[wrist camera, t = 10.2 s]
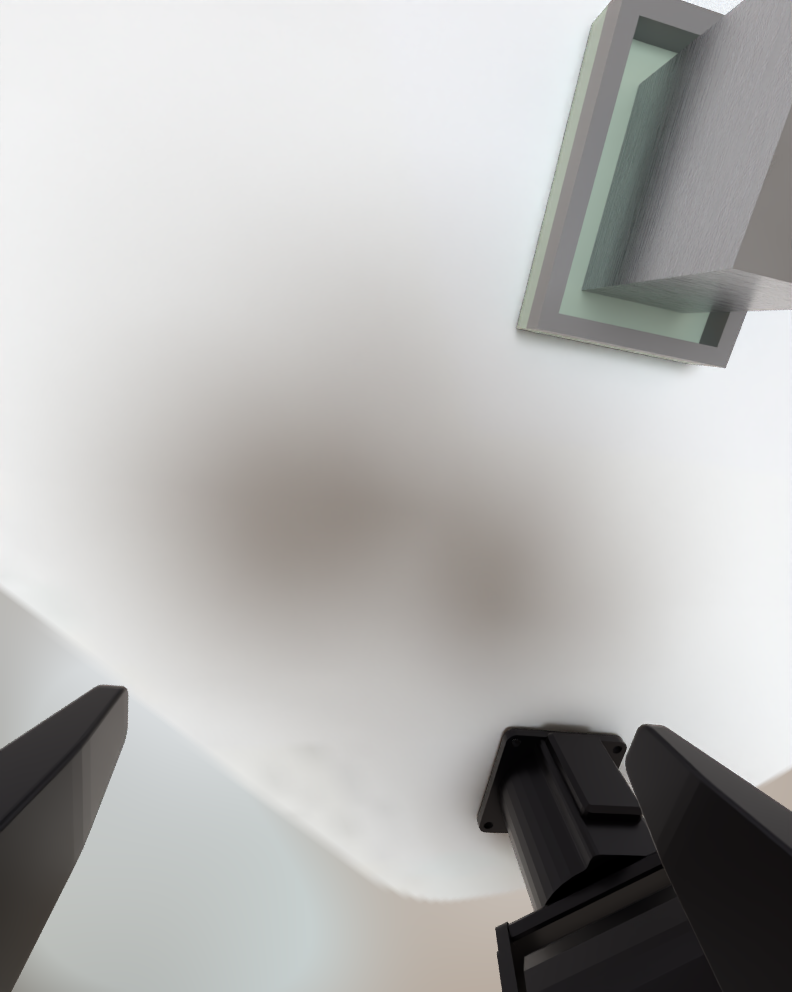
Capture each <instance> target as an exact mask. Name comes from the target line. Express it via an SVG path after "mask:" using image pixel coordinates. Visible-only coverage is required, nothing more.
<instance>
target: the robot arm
mask: <svg viewBox="0 0 792 992" xmlns="http://www.w3.org/2000/svg"><path fill="white" fill-rule="evenodd" d="M127 728H128V691H127V689H126V688H125V687H124V686H114V685H99V686H96V687H94V688H93V689H91V690H90V691H88V692H87V693H85V694H84V695H82V696H81V697H79V698H78V699H76V700H75V701H73V702H71V703H70V704H68V705H67V706H65V707H64V708H62V709H61V710H59V711H58V712H56V713H55V714H53V715H52V716H50V717H49V718H47V719H46V720H44V721H43V722H41V723H40V724H38V725H36V726H35V727H34V728H32V729H30V730H29V731H27V732H26V733H24V734H23V735H21V736H20V737H18V738H17V739H15V740H14V741H12V742H11V743H9V744H8V745H6V746H5V747H3V748H2V749H0V992H11V991H12V989H13V987H14V985H15V983H16V981H17V979H18V977H19V975H20V974H21V972H22V970H23V968H24V966H25V964H26V962H27V960H28V958H29V956H30V953H31V952H32V950H33V948H34V946H35V944H36V942H37V940H38V938H39V936H40V934H41V932H42V930H43V928H44V926H45V924H46V922H47V920H48V918H49V916H50V914H51V912H52V910H53V908H54V906H55V904H56V902H57V900H58V898H59V896H60V894H61V892H62V890H63V888H64V886H65V884H66V882H67V880H68V878H69V876H70V874H71V872H72V870H73V868H74V866H75V864H76V862H77V860H78V858H79V856H80V854H81V852H82V849H83V847H84V845H85V842H86V840H87V837H88V835H89V833H90V830H91V828H92V825H93V822H94V820H95V817H96V815H97V812H98V810H99V807H100V804H101V802H102V799H103V797H104V794H105V791H106V789H107V786H108V784H109V781H110V778H111V776H112V773H113V771H114V768H115V766H116V763H117V760H118V758H119V755H120V752H121V750H122V748H123V745H124V742H125V739H126V734H127ZM514 739H516V740H514ZM512 740H514V741H512ZM626 748H627V747H626V744H625V743H624V741H623V740H622V738H620V737H619V736H613V735H598V734H584V733H569V732H555V731H540V730H525V729H511V730H508V731H507V732H506V733H505V734H504V736H503V739H502V742H501V745H500V748H499V751H498V754H497V758H496V761H495V764H494V767H493V770H492V773H491V777H490V780H489V783H488V786H487V789H486V792H485V795H484V799H483V802H482V805H481V808H480V811H479V814H478V818H477V822H478V825H479V828H480V830H481V831H483V832H490V833H508V834H509V837H510V840H511V843H512V846H513V849H514V852H515V855H516V858H517V861H518V864H519V867H520V870H521V873H522V876H523V879H524V882H525V885H526V888H527V891H528V894H529V897H530V900H531V903H532V906H533V909H534V912H532V913H530V914H528V915H526V916H524V917H522V918H520V919H518V920H516V921H514V922H512V923H510V924H509V923H508V922H506V923H504V924H502V925H500V926H498V927H496V928H495V930H496V937H497V944H498V952H497V958H498V964H499V972H500V979H501V986H502V992H792V811H790V810H788V809H787V808H785V807H784V806H783V805H781V804H780V803H778V802H777V801H775V800H774V799H772V798H771V797H769V796H768V795H766V794H765V793H763V792H762V791H760V790H759V789H757V788H756V787H754V786H753V785H752V784H750V783H749V782H747V781H746V780H744V779H743V778H741V777H740V776H738V775H737V774H735V773H734V772H732V771H731V770H729V769H728V768H726V767H725V766H723V765H722V764H720V763H719V762H717V761H716V760H714V759H713V758H711V757H710V756H708V755H707V754H705V753H704V752H702V751H701V750H699V749H698V748H697V747H695V746H694V745H692V744H691V743H689V742H688V741H686V740H685V739H683V738H682V737H680V736H679V735H677V734H676V733H674V732H673V731H671V730H670V729H668V728H667V727H665V726H662V725H652V724H643V725H641V726H640V727H639V728H638V729H637V732H636V734H635V736H634V739H633V741H632V743H631V746H630V748H629V751H628V753H627V755H626V760H625V766H626V771H627V774H628V777H629V779H630V782H631V785H632V787H633V790H634V793H635V795H636V796H635V795H634V793H633V792H632V790H631V788H630V787H629V785H628V784H627V782H626V780H625V779H624V777H623V776H622V774H621V773H620V771H619V766H620V764H621V761H622V759H623V757H624V754H625V752H626ZM643 816H644V817H643Z"/></svg>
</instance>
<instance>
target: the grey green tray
mask: <svg viewBox="0 0 792 992" xmlns="http://www.w3.org/2000/svg"><path fill="white" fill-rule="evenodd" d="M724 16H725V15H723V14H720V13H717V12H714V11H711V10H708V9H705V8H702V7H699V6H696V5H693V4H691V3H688V2H685V1H682V0H612V1H611V2H610V3H609V4H608V5H607V7H606V8H605V9H604V10H603V11H602V13H601V14H600V15H599V16H598V17H597V18H596V20H595V21H594V22H593V23H592V26H591V30H590V34H589V38H588V42H587V46H586V51H585V55H584V59H583V63H582V67H581V71H580V75H579V79H578V83H577V87H576V91H575V95H574V99H573V103H572V107H571V111H570V115H569V119H568V123H567V127H566V131H565V135H564V139H563V143H562V147H561V151H560V155H559V159H558V163H557V167H556V171H555V175H554V179H553V183H552V188H551V192H550V196H549V200H548V204H547V208H546V212H545V216H544V220H543V224H542V228H541V232H540V236H539V240H538V244H537V248H536V252H535V256H534V260H533V264H532V268H531V272H530V276H529V280H528V284H527V288H526V292H525V296H524V300H523V304H522V308H521V312H520V316H519V321H518V325H517V328H518V329H523V330H527V331H532V332H537V333H542V334H547V335H552V336H556V337H561V338H566V339H571V340H576V341H581V342H585V343H590V344H595V345H600V346H605V347H610V348H614V349H619V350H624V351H629V352H634V353H639V354H643V355H648V356H653V357H658V358H663V359H668V360H672V361H677V362H682V363H687V364H695V365H704V366H713V367H722V368H726V365H727V363H728V360H729V358H730V355H731V352H732V350H733V347H734V344H735V342H736V339H737V337H738V334H739V331H740V329H741V326H742V323H743V321H744V318H745V316H746V313H747V311H735V312H706V313H680V312H675V311H671V310H667V309H662V308H658V307H653V306H649V305H644V304H640V303H636V302H631V301H627V300H622V299H618V298H613V297H609V296H605V295H600V294H596V293H591V292H587V291H582V290H581V289H582V286H583V282H584V279H585V275H586V272H587V268H588V264H589V261H590V257H591V254H592V250H593V247H594V243H595V239H596V236H597V232H598V229H599V225H600V222H601V218H602V215H603V211H604V207H605V204H606V200H607V197H608V193H609V190H610V186H611V182H612V179H613V175H614V172H615V168H616V165H617V161H618V158H619V154H620V150H621V147H622V143H623V140H624V136H625V133H626V129H627V125H628V122H629V118H630V115H631V111H632V108H633V104H634V101H635V97H636V93H637V90H638V86H639V84H640V83H642V82H643V81H644V80H645V79H647V78H648V77H649V76H650V75H652V74H653V73H654V72H655V71H657V70H658V69H659V68H660V67H661V66H663V65H664V64H665V63H666V62H668V61H669V60H670V59H671V58H673V57H674V56H675V55H676V54H678V53H679V52H680V51H681V50H683V49H684V48H685V47H686V46H688V45H689V44H690V43H691V42H693V41H694V40H695V39H696V38H698V37H699V36H700V35H701V34H703V33H704V32H705V31H706V30H707V29H709V28H710V27H711V26H712V25H714V24H715V23H716V22H717V21H719V20H720V19H721V18H722V17H724Z"/></svg>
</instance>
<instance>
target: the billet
mask: <svg viewBox="0 0 792 992" xmlns="http://www.w3.org/2000/svg"><path fill="white" fill-rule="evenodd" d="M581 290H582V291H587V292H591V293H596V294H600V295H605V296H609V297H613V298H618V299H622V300H627V301H631V302H636V303H640V304H644V305H649V306H653V307H658V308H662V309H667V310H671V311H675V312H680V313H706V312H735V311H764V310H792V0H744V1H742V2H741V3H740V4H739V5H737V6H736V7H735V8H734V9H732V10H731V11H730V12H729V13H727V14H726V15H725V16H724V17H722V18H721V19H720V20H719V21H717V22H716V23H715V24H714V25H712V26H711V27H710V28H709V29H707V30H706V31H705V32H704V33H703V34H701V35H700V36H699V37H698V38H696V39H695V40H694V41H693V42H691V43H690V44H689V45H688V46H686V47H685V48H684V49H683V50H681V51H680V52H679V53H678V54H676V55H675V56H674V57H673V58H671V59H670V60H669V61H668V62H666V63H665V64H664V65H663V66H661V67H660V68H659V69H658V70H657V71H655V72H654V73H653V74H652V75H650V76H649V77H648V78H647V79H645V80H644V81H643V82H642V83H640V84H639V86H638V90H637V93H636V97H635V101H634V104H633V108H632V111H631V115H630V118H629V122H628V125H627V129H626V133H625V136H624V140H623V143H622V147H621V150H620V154H619V158H618V161H617V165H616V168H615V172H614V175H613V179H612V182H611V186H610V190H609V193H608V197H607V200H606V204H605V207H604V211H603V215H602V218H601V222H600V225H599V229H598V232H597V236H596V239H595V243H594V247H593V250H592V254H591V257H590V261H589V264H588V268H587V272H586V275H585V279H584V282H583V286H582V289H581Z"/></svg>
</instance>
